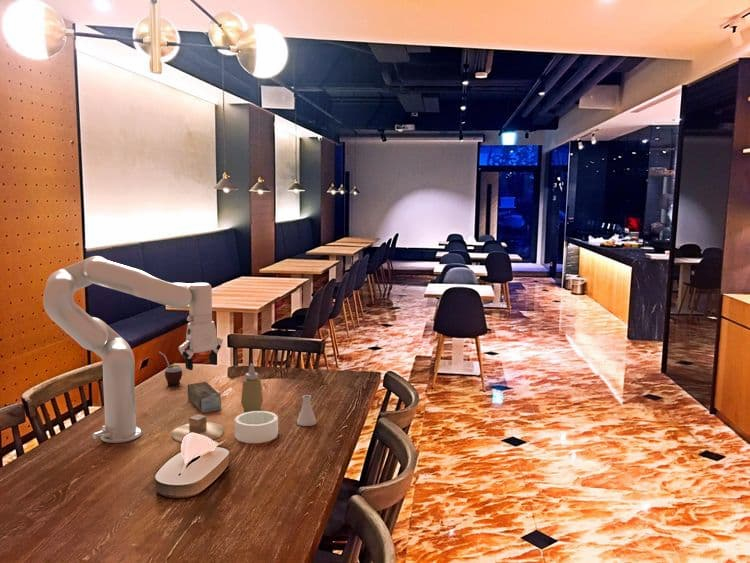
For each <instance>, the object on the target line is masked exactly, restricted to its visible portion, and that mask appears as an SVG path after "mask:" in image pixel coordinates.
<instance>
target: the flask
mask: <svg viewBox="0 0 750 563" xmlns="http://www.w3.org/2000/svg"><path fill="white" fill-rule="evenodd" d="M311 399H312V395H309V394H304V395H302V407H301V409H300V412H299V414H298V418H297V421H296V425H298V426H300V427H312V426H314V425H316V424H317V420H316V417H315V414H314V411H313V408H312V404H311Z"/></svg>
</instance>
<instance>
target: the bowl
mask: <svg viewBox="0 0 750 563" xmlns="http://www.w3.org/2000/svg"><path fill="white" fill-rule="evenodd" d="M278 435H279V416H278V415H277V414H276V413H275V412H271V411H268V410H260V411H251V412H242V413H241V414H239V415H236V416H235V418H234V438H235V439H236V441H238V442H242V443H245V444H261V443H268V442H271V441H272V440H275V439H276V438H278Z"/></svg>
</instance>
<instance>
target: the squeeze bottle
mask: <svg viewBox="0 0 750 563" xmlns="http://www.w3.org/2000/svg"><path fill="white" fill-rule="evenodd" d="M244 375H245V378H244V379H242V386H241V387H242V389H241V398H240V403H241V405H242V408H243V411H244V413H246V412H251V411H261V408H262V406H263V405H262V404H263V402H264V400H263V399H264V398H263V391H262V388H263V387H262V380H261V379H260V378H259V373H258V372H257V371H256V370H255V365H254V364H253V363H250V364H249V368H248V372H246V373H245V374H244Z"/></svg>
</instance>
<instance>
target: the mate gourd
mask: <svg viewBox="0 0 750 563" xmlns="http://www.w3.org/2000/svg"><path fill="white" fill-rule="evenodd" d="M158 353H159V354H160V355H162V356H163V358H164V359H165V362H166V363H167V366H166V369H165V370H164V378H165V380H166V383H167V388H170V386H171V387H177V386H179V387H180V384H181V380H182V376H183V370H182V367H181V366H180V365H177V364H175V365H171V364H170V363H169V361H168V359H167V356H166V355H165V354H164V352H163V353H162V352H161V351H158ZM173 385H174V386H173Z"/></svg>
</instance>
